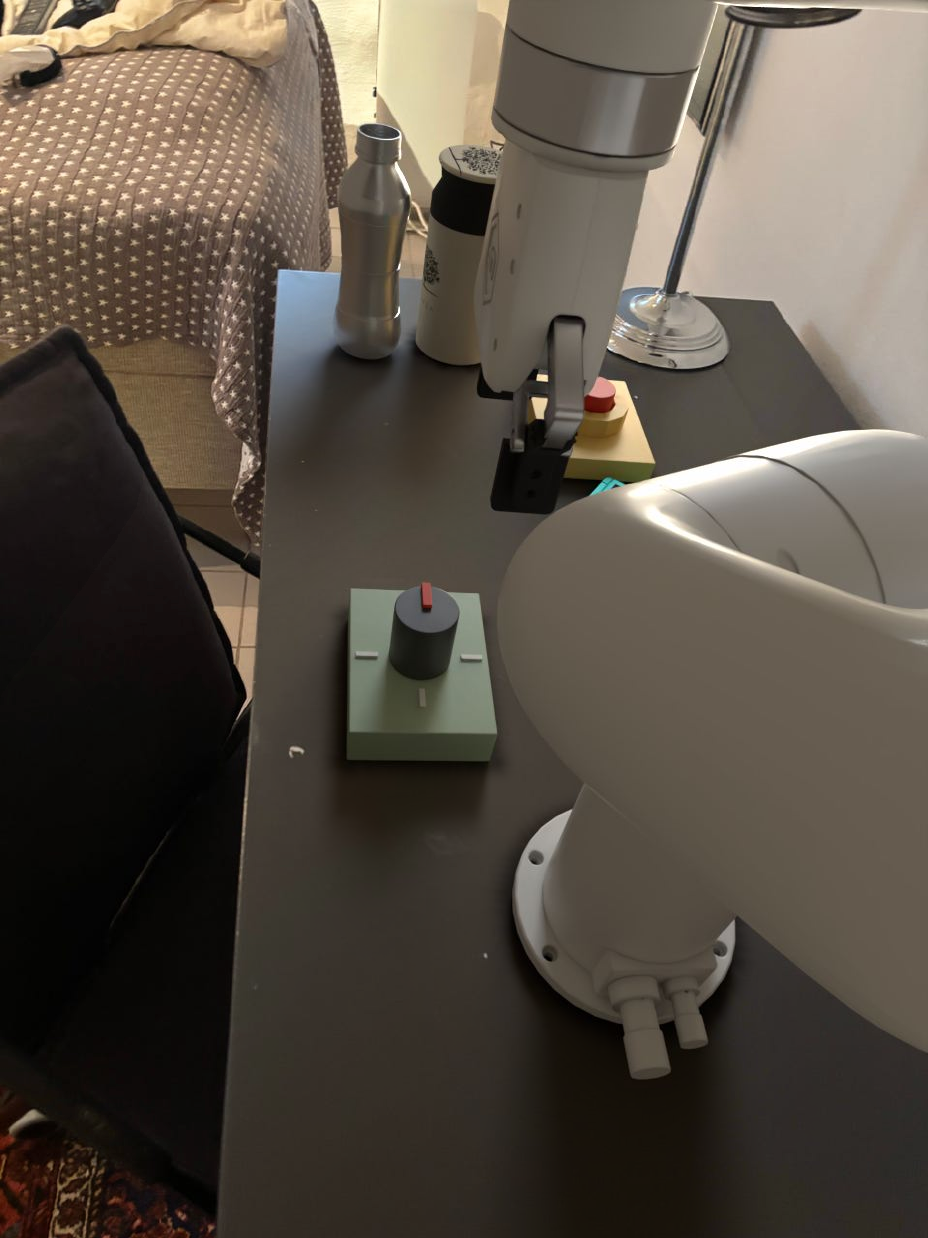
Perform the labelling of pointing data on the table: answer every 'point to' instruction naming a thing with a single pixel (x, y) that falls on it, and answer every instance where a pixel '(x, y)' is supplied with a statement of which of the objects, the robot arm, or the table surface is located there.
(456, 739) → the panel
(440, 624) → the knob
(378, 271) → the silver metal bottle
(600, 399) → the button
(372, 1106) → the table surface
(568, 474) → the button block
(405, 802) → the table surface
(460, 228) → the travel mug
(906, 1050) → the table surface
